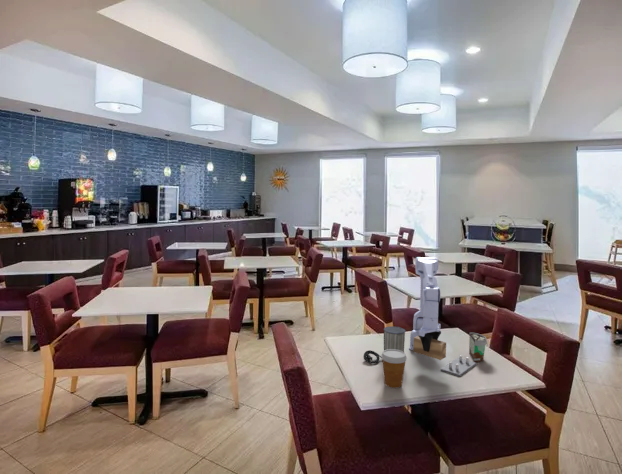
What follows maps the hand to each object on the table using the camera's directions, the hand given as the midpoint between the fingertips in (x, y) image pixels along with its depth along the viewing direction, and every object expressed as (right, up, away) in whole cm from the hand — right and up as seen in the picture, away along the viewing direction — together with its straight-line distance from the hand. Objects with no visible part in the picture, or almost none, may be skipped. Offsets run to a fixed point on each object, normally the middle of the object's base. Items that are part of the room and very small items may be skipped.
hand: (429, 349), depth 157 cm
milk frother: (-17, -9, +10) cm, 21 cm away
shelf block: (0, -2, 0) cm, 2 cm away
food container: (+27, -9, +15) cm, 32 cm away
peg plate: (+14, -9, +5) cm, 17 cm away
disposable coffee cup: (-17, -10, -11) cm, 22 cm away
